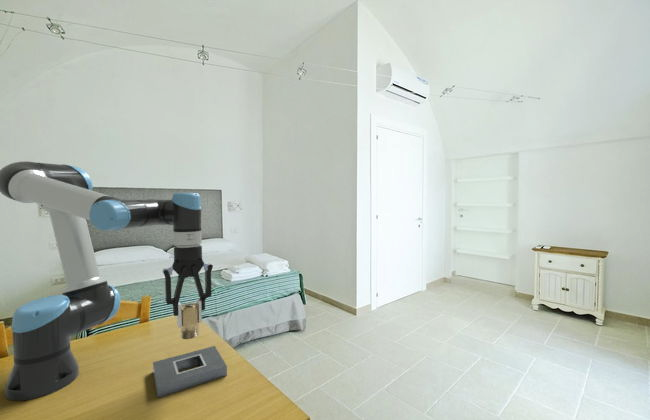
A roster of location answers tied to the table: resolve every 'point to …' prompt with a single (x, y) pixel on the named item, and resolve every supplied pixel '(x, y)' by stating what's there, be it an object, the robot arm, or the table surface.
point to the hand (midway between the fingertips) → (189, 323)
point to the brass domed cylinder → (189, 321)
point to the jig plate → (174, 381)
